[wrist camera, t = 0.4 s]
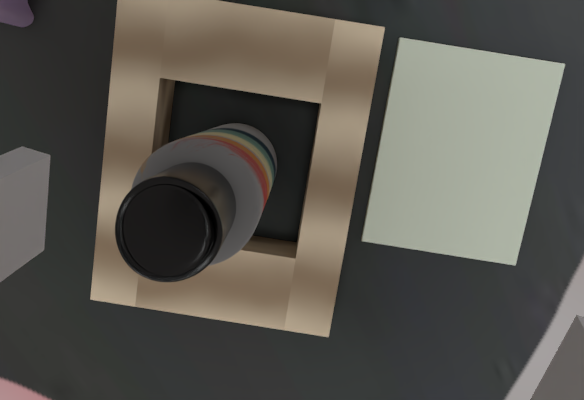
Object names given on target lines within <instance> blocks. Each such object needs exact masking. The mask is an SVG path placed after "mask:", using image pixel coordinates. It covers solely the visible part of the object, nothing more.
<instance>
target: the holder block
mask: <svg viewBox="0 0 584 400" xmlns="http://www.w3.org/2000/svg"><path fill="white" fill-rule="evenodd" d="M384 30H385V27H380V26H374V25H368V24H362V23H356V22H349V21H343V20H337V19H331V18H324V17H318V16H312V15H306V14H300V13H293V12H287V11H281V10H275V9H269V8H262V7H256V6H250V5H244V4H237V3H231V2H225V1H219V0H118V1H117V12H116V23H115V34H114V45H113V56H112V67H111V78H110V89H109V100H108V111H107V122H106V133H105V144H104V155H103V166H102V177H101V188H100V199H99V210H98V221H97V232H96V243H95V254H94V265H93V276H92V287H91V298H90V300H96V301H103V302H109V303H115V304H122V305H128V306H134V307H141V308H147V309H153V310H160V311H166V312H172V313H179V314H185V315H191V316H198V317H204V318H210V319H217V320H223V321H229V322H235V323H242V324H248V325H254V326H261V327H267V328H273V329H280V330H286V331H292V332H299V333H305V334H311V335H318V336H324V337H329V332H330V327H331V321H332V316H333V310H334V305H335V299H336V294H337V288H338V283H339V277H340V272H341V266H342V261H343V255H344V250H345V244H346V239H347V233H348V228H349V222H350V217H351V211H352V206H353V200H354V195H355V189H356V184H357V178H358V173H359V167H360V162H361V156H362V151H363V145H364V140H365V135H366V129H367V124H368V118H369V113H370V107H371V102H372V96H373V91H374V85H375V80H376V74H377V69H378V63H379V58H380V52H381V47H382V41H383V36H384ZM175 80H177V81H183V82H189V83H196V84H202V85H208V86H214V87H221V88H227V89H233V90H239V91H246V92H252V93H258V94H264V95H271V96H277V97H283V98H289V99H296V100H302V101H308V102H314V103H320V104H319V110H318V116H317V122H316V128H315V135H314V141H313V147H312V153H311V159H310V165H309V171H308V177H307V183H306V189H305V195H304V202H303V208H302V214H301V220H300V226H299V232H298V238H297V242H291V241H285V240H279V239H272V238H266V237H260V236H253V235H252V236H251V238H250V239H249V241H248V242H247V243H246V245H245V246H244V247H243V248H242V249H241V250H240V251H239V252H237V253H236V254H235V255H233V256H232V257H230V258H228V259H227V260H225V261H222V262H220V263H217V264H214V265H210V266H207V267H206V268H205V269H204V270H203V271H201V272H200V273H198V274H196V275H195V276H193V277H190V278H188V279H185V280H181V281H177V282H158V281H153V280H150V279H147V278H145V277H143V276H141V275H139V274H137V273H136V272H135V271H133V270H132V269H131V268H130V267H129V266H128V265H127V263H126V262H125V261H124V259H123V258H122V256H121V254H120V252H119V249H118V246H117V243H116V238H115V222H116V216H117V213H118V210H119V207H120V205H121V203H122V201H123V199H124V198H125V196H126V195H127V194H128V193H129V192H130V190H131V188H132V184H133V181H134V178H135V176H136V174H137V172H138V170H139V169H140V167H141V165H142V164H143V163H144V161H145V160H146V159H147V158H148V157H149V156H150V155H151V154H152V153H153V152H155V151H156V150H158V149H159V148H161V147H162V146H164V145H166V144H168V140H169V131H170V122H171V114H172V105H173V96H174V87H175Z"/></svg>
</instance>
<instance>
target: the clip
mask: <svg viewBox="0 0 584 400" xmlns="http://www.w3.org/2000/svg"><path fill="white" fill-rule="evenodd" d="M33 20H34V15H33V13H32V11H31V9H30V7H29V5H28V0H0V22H2V23H6V24H10V25H14V26H18V27H26V26H28V25H30V24H32V22H33Z"/></svg>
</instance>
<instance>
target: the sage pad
mask: <svg viewBox="0 0 584 400" xmlns="http://www.w3.org/2000/svg"><path fill="white" fill-rule="evenodd" d="M564 67H565V64H562V63H556V62H550V61H544V60H537V59H531V58H525V57H519V56H512V55H506V54H500V53H494V52H488V51H481V50H475V49H469V48H463V47H456V46H450V45H444V44H438V43H432V42H425V41H419V40H413V39H407V38H399V39H398V44H397V50H396V55H395V60H394V66H393V71H392V76H391V82H390V87H389V92H388V98H387V103H386V108H385V114H384V119H383V124H382V130H381V135H380V140H379V146H378V151H377V156H376V162H375V167H374V172H373V178H372V183H371V188H370V194H369V199H368V204H367V210H366V215H365V220H364V226H363V231H362V236H361V240H362V241H364V242H371V243H377V244H383V245H389V246H396V247H402V248H408V249H415V250H421V251H427V252H433V253H440V254H446V255H452V256H459V257H465V258H471V259H477V260H484V261H490V262H496V263H503V264H509V265H515V266H516V262H517V258H518V253H519V249H520V245H521V241H522V237H523V233H524V229H525V225H526V221H527V217H528V213H529V209H530V205H531V201H532V197H533V193H534V189H535V184H536V180H537V176H538V172H539V168H540V164H541V160H542V156H543V152H544V148H545V144H546V140H547V136H548V132H549V128H550V124H551V120H552V115H553V111H554V107H555V103H556V99H557V95H558V91H559V87H560V83H561V79H562V75H563V71H564Z"/></svg>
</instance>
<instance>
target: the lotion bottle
mask: <svg viewBox="0 0 584 400" xmlns="http://www.w3.org/2000/svg"><path fill="white" fill-rule="evenodd" d="M276 172H277V158H276V153H275V150H274V148H273V146H272V144H271V142H270V141H269V139H268V138H267V137H266V136H265V135H264V134H263V133H262V132H261V131H259V130H258V129H256V128H254V127H252V126H249V125H246V124H241V123H230V124H225V125H221V126H218V127H214V128H211V129H208V130H205V131H202V132H199V133H196V134H193V135H190V136H187V137H184V138H181V139H178V140H175V141H173V142H171V143H168V144H166V145H164V146H162V147H161V148H159V149H158V150H156V151H155V152H153V153H152V154H151V155H150V156H149V157H148V158H147V159H146V160H145V161H144V163H143V164H142V165H141V167H140V169H139V170H138V172H137V174H136V176H135V178H134V181H133V184H132V188H131V190H130V192H129V193H128V194H127V195H126V196H125V198H124V199H123V201H122V203H121V205H120V207H119V210H118V213H117V216H116V222H115V238H116V243H117V246H118V249H119V252H120V254H121V256H122V258H123V259H124V261H125V262H126V263H127V265H128V266H129V267H130V268H131V269H132V270H133V271H135V272H136V273H137V274H139V275H141V276H143V277H145V278H147V279H150V280H153V281H158V282H177V281H181V280H185V279H188V278H190V277H193V276H195V275H196V274H198V273H200V272H201V271H203V270H204V269H205V268H206V267H207V266H210V265H214V264H217V263H220V262H222V261H225V260H227V259H228V258H230V257H232V256H233V255H235V254H236V253H237V252H239V251H240V250H241V249H242V248H243V247H244V246H245V245H246V243H247V242H248V241H249V239H250V238H251V236H252V235H253V233H254V231H255V229H256V227H257V225H258V222H259V220H260V217H261V215H262V212H263V209H264V207H265V204H266V201H267V199H268V196H269V194H270V191H271V188H272V186H273V183H274V180H275V177H276Z"/></svg>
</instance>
